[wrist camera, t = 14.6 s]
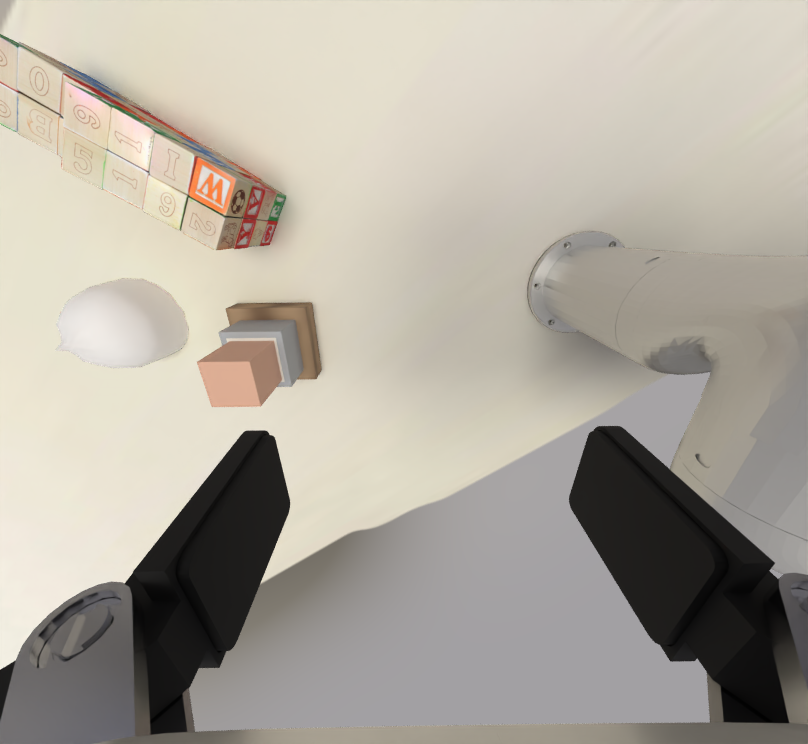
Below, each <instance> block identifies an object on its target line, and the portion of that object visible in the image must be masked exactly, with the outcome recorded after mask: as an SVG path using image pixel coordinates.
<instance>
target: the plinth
mask: <svg viewBox="0 0 808 744" xmlns="http://www.w3.org/2000/svg"><path fill="white" fill-rule="evenodd" d="M226 312H227V316H228V320H229V324H230V326H231V325H233V324H235V323H237V322H238V321H240V320H295V321H296V326H297V332H298V338H299V344H300V350H301V356H302V362H303V368H304V370H303V371H302V373H301V374H300V376H299V377H298V378H297V379H317V377H318V375H319V374H320V372H321V363H320V356H319V349H318V342H317V335H316V328H315V321H314V314H313V307H312V303H244V304H235V305H233V306H231V307H228V308H226Z"/></svg>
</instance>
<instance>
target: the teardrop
mask: <svg viewBox="0 0 808 744" xmlns="http://www.w3.org/2000/svg"><path fill="white" fill-rule="evenodd" d="M56 325H57V327H58V330H59V332H60V334H61V341H62V342H61V344H60V345H59V346H58V348H57V349H56V350H55V351H69V352H71V353H73V354H75V355H77V356H78V357H79V358H80V359H81V360H82V361H84V362H88V363H92V364H96V365H100V366H105V367H110V368H134V367H142V366H145V365H147V364H150V363H152V362H154V361H157V360H159V359H162V358H164V357H166V356H169V355H171V354H172V353H174V352H176V351H178V350H180V349H182V347H183V346H184V344H185V343H186V341H187V338H188V331H189V328H188V325H187V321H186V318H185V314H184V311H183V310H182V308H181V307H180V306H179V305H178V303H177V302H176V301H175V300H174V298H173V297H172V296H171V295H170V294H169V293H168V292H167V291H165V290H164V289H162V288H161V287H160V286H158V285H157V284H154V283H152V282H149V281H147V280H144V279H128V278H122V279H118V280H114V281H111V282H107V283H103V284H99V285H95V286H92V287H89V288H87V289H85V290H84V291H82V292H80V293H78V294H77V295H75V296H73V297H72V298H71V299H69V300H68V301H67V302H66V304H65V306H64V307H63V309H62V311H61V313H60V315H59V318H58V321H57V323H56Z"/></svg>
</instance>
